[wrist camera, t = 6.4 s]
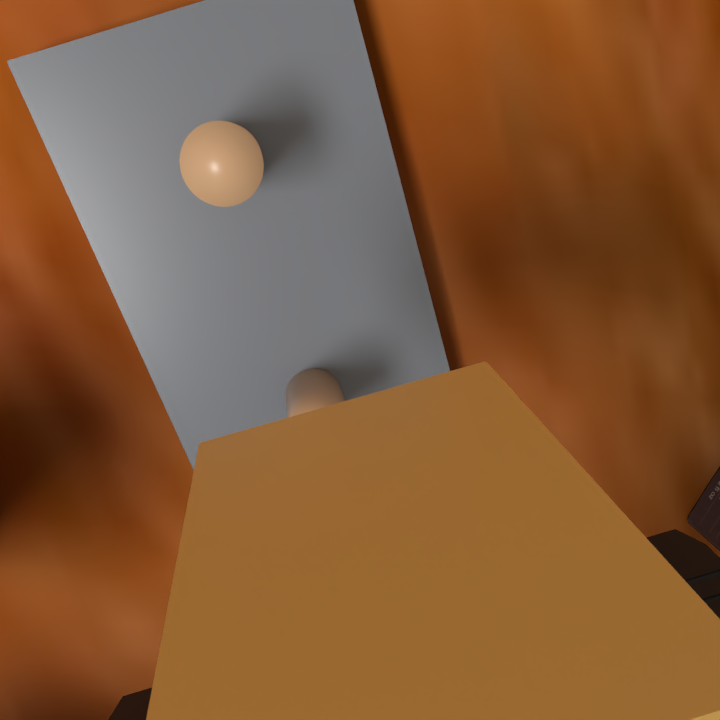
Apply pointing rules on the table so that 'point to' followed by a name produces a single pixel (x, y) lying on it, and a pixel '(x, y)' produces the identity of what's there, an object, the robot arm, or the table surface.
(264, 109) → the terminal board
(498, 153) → the table surface
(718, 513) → the box
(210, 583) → the tan rectangular block
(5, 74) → the table surface
